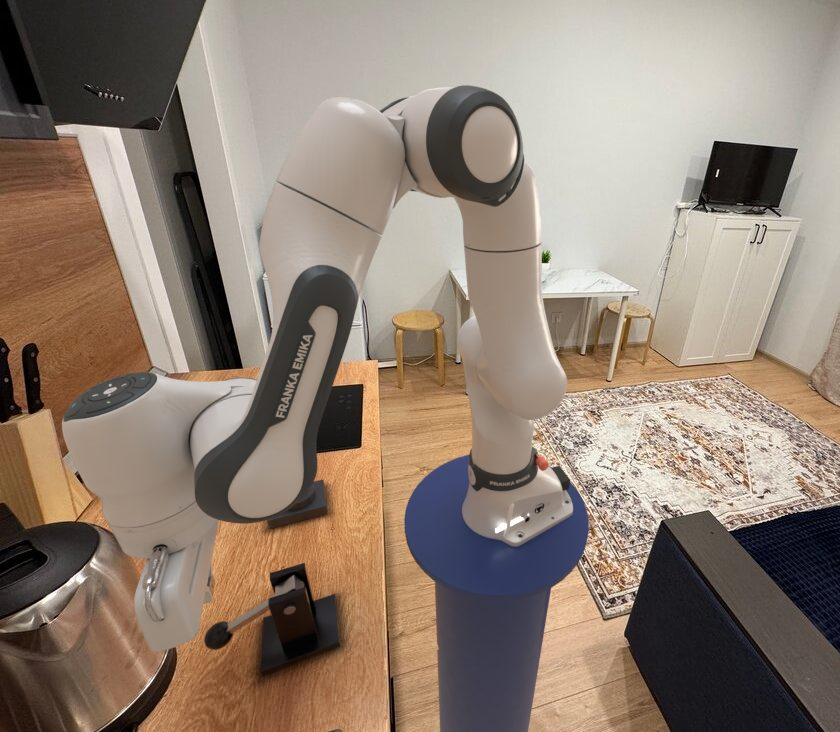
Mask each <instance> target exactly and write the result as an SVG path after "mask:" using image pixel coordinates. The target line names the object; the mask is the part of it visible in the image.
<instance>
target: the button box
mask: <svg viewBox="0 0 840 732" xmlns="http://www.w3.org/2000/svg"><path fill="white" fill-rule="evenodd" d="M327 502H328V501H327V494H326V484H325V479H324V478H323V479H319V480H314V482H313V484H312V485H311V487H310V488H309V490H308V491H307V492H306V494H305V495H304V496H303V497H302V498H301V499H300V500H299V501H298V502H297V503H296V504H295V505H293V506H292V507H291V508H290V509H288V510H287V511H285V512H283V513H282V514H280V515H278V516H276V517H273V518H271V519H268V520H267V522H268V526H269V529H270V530H271V529H276V528H279V527H282V526H287V525H290V524H293V523H298V522H301V521H305V520H309V519H313V518H317V517H320V516H324V515H328V513H329V512H328V504H327Z"/></svg>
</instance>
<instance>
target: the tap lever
mask: <svg viewBox="0 0 840 732" xmlns="http://www.w3.org/2000/svg"><path fill="white" fill-rule="evenodd" d="M303 587H304V582H303V581H301V580H300V579H299V578H297V577H296V576H295V575H293V576H291V577H290V578H288V579H287V580H285V581H283V582H282V583H280V584H279V585H277V586H275V595H274V594H273V595H271V596H269V597H268V598H267V599H265V600H264V601H262V602H260V603H259V604H257V605H256V606H254V607H252V608H250V609H249V610H248V611H245V612H244V613H242V614H241V615H239V616H238V617H236V618H234V619H233V620H231V621H230V622H228V621H225V620H224V621H222V620H221V621H218V622H216V623H214V624H212V625H211V626H210V627H209V628H208V630H206V632H205V635H204V639H203V641H204V645H205V647H206V648H207V649H209V650H212V651H218V650H220V649H224V647H226V646H227V645H228V644H230V642H231V641H232V639H233V636H234V633H236V632H237V631H239V630H240V629H242V628H243V627H245V626H247V625H248V624H250V623H252V622H253V621H255V620H256V619H258V618H260V617H261V616H263V615H264V614H266V613H267V612H270V609H269V606H268V601H269V598H272V597H275V596H278V595H281V594H284V593H287V592H291V591H294V590H297V589H300V588H303Z"/></svg>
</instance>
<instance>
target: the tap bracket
mask: <svg viewBox="0 0 840 732" xmlns="http://www.w3.org/2000/svg"><path fill="white" fill-rule="evenodd" d="M293 575H295V576H296V577H297V578H299V579H300V580H301V581H303V582H304V587H303V588H300V589H297V590H294V591H291V592H287V593H284V594H281V595H278V596H275V597H272V598H270V597H268V598H269V601H268V606H269V609H270V610H269V612H270V614H271V615H268V616H265V617H263V618H262V619H263V620H262V637H261V638H262V639H261V654H260V668H259V669H260V670H259V673H260V675H261V677H265V676H268V675H270V674H273V673H275V672H278V671H280V670H282V669H286V668H288V667H290V666H293V665H295V664H298V663H300V662H301V663H302V662H304V661H306V660H309V659H311V658H314V657H316V656H319V655H322V654H324V653H327V652H329V651H332V650H334V649H337V648H340V647H341V639H340V638H341V637H340V627H339V618H338V617H339V616H338V608H337V607H338V606H337V597H336V594H335V593H332V594H330V595H327V596H324V597H321V598H318V599H314V594H313V590H312V586H311V582H310V578H309V574H308V570H307V566H306V563H305V562H301V563H299V564H295V565H292V566H289V567H285V568H283V569H279V570H276V571H273V572H270V573H269V581H270V584H271V585H270V586H271V588H272V591H273V595H275V586H277V585H279V584H280V583H282V582H283V581H285V580H287V579H288V578H290V577H291V576H293Z"/></svg>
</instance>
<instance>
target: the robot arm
mask: <svg viewBox="0 0 840 732" xmlns="http://www.w3.org/2000/svg"><path fill="white" fill-rule="evenodd" d="M408 192H418V193H420V194H423V195H426V196H429V197H433V198H439V199H443V198H444V199H446V198H453V200H454V201H455V203H456V204H457V206H458V209H459V211H460V215H461V219H462V237H463V239H462V240H463V250H464V263H465V277H466V289H467V297H468V301H469V304H470V306H471V308H472V311H473V313H474V315H472V316H471V317H470V318H468V319H467V320H466V321H464V323H463V324H462V325H461V327H460V329H459V331H458V334H457V339H456V341H457V348H458V351H459V354H460V357H461V360H462V361H461V362H462V366H463V373H464V381H465V387H466V393H467V398H468V403H469V409H470V410H469V411H470V417H471V418H470V419H471V449H470V451H469V454H468V455H469V465H468V476H469V487H468V492H467V495H466V498H465V500H464V503H463V506H462V515H463V519H464V521H465V522H466V524H467V525H468V526H469V528H470V529H472V530H473V531H474V532H476V533H477V534H479V535H481V536H484V537H487V538H492V539H497V540H501V541H503V542H505V543H506V544H508V545H510V546H513V547H518V546H520V545H522V544H524V543H525V542H527V541H529V540H531V539H532V538H534V537H536V536H537V535H539V534H541V533H543V532H544V531H546V530H548V529H550V528H551V527H553V526H555V525H556V524H558V523H560V522H562V521H563V520H565V519H567V518H569V517H570V516H571V515H572V514H573V504H572V501H571V498H570V496H569V494H568V493H567V491H566V490H568V489H569V486H570V482H571V479H570V477H569V476H568V475H567V473H566V472H565V471H564V470H563V468H562V467H561V465H557V466H550V463H549V462H548V460H546V458H545V456H539V452H538V450H537V449H536V447H534V446H533V441H534V439H533V438H534V431H535V430H534V429H535V420H539V419H542V418H545V417H547V416H549V415H550V414H551V413H553V412H554V411H555V410H556V409H557V408H558V407H559V406H560V404H561V403H562V402H563V400H564V398H565V395H566V393H567V390H568V388H567V387H568V377H567V374H566V372H565V370H564V368H563V366H562V364H561V363H560V359H558V356H557V353H556V350H555V347H554V343H553V339H552V335H551V331H550V328H549V323H548V319H547V313H546V309H545V304H544V298H543V297H544V296H543V283H542V282H543V279H542V278H543V277H542V275H543V274H542V273H543V272H542V269H543V268H542V262H543V261H542V258H543V257H542V256H543V255H542V254H543V253H542V252H543V251H542V249H543V247H542V244H543V243H542V242H543V241H542V240H543V239H542V235H543V233H542V214H541V205H540V197H539V189H538V184H537V180H536V175H535V172H534V170H533V168H532V167H531V165H530V164H529V163H528V162H526V161H525V153H524V142H523V136H522V132H521V128H520V125H519V122H518V119H517V116H516V115H515V112H514V110H513V109H512V107H511V105H510V104H509V103H508V101H506V100H505V99H504V98H503V97H502V96H501V95H500V94H498V93H496V92H494V91H492V90H489V89H487V88H485V87H480V86H475V85H470V84H469V85H468V84H465V85H463V84H462V85H458V86H454V87H449V86H447V87H435V88H429V89H425V90H422V91H420V92H418V93H416V94H414V95H412V96H407V97H402V98H398V99H396V100H394V101H392V102H391V103H388V104H387V105H386V106H385V107H383V108H382V109H380V110H378V109H377V108H376V107H374V106H372V105H370V104H368V103H367V102H365V101H362V100H360V99H356V98H353V97H349V96H348V97H347V96H332V97H329V98H327V99H324V100H323V101H322V102H320V103H319V104H318V106H317V107H316V108H315V110H314V111H313V112H312V114H310V117H309V118H308V119H307V121H306V123H305V124H304V126H303V127H302V129H301V130H300V132H299V133H298V135H297V137H296V139H295V140H294V141H293V144H292V146H291V147H290V149H289V151H288V153H287V155H286V156H285V158H284V161H283V163H282V166H281V168H280V170H279V172H278V175H277V177H276V180H275V182H274V183H273V186H272V189H271V192H270V195H269V197H268V200H267V202H266V203H267V204H266V206H265V210H264V214H263V215H264V216H263V220H262V224H261V231H260V237H259V243H258V244H259V245H258V248H259V254H260V258H261V261H262V264H263V269H264V271H265V274H266V278H267V282H268V286H269V291H270V295H271V301H272V317H273V318H272V330H271V335H270V339H269V342H268V346H267V349H266V352H265V355H264V358H263V361H262V363H261V366H260V369H259V372H258V375H257V378H251V377H232V378H227V379H223V380H214V381H212V380H211V381H204V380H203V381H201V380H199V381H197V380H184V379H177V378H171V377H168V376H165V375H162V374H159V373H156V372H151V371H138V372H129V373H125V374H121V375H117V376H114V377H112V378H108V379H106V380H104V381H101V382H99V383H97V384H95V385H93V386H91V387H90V388H89V389H87V390H85V391H84V392H83V393H81V394H79V395H77V397H75V399H73V401H72V402H71V403H70V404H69V406H68V407H67V409H66V410H65V412H64V413H63V417H62V419H61V420H62V421H61V430H62V432H61V433H62V435H63V439H64V442H65V445H66V448H67V451H68V453H69V456H70V458H71V460H72V462H73V465H74V466H75V469H76V471H77V472H78V474H79V476H80V478H81V480H82V482H83V484H84V485H85V486H86V488H87V490H88V491H89V492H91V493H92V494H94V495H96V496H97V498H99V500H100V502H101V511H102V512H101V513H102V515H103V519H104V520H105V522H106V524H107V525H108V527H109V529H110V531H111V532H112V534H113V535H114V537H115V539H116V541H117V542H118V543H117V544H118V545H119V546H120V548H121V550H122V551H123V553H124V554H126V555H127V556H128V557H130V558H134V559H140V560H145V562H144V567H143V569H142V571H141V574H140V578H139V581H138V583H137V586H136V590H135V594H134V598H133V606H134V607H133V608H134V613H135V618H136V620H137V623H138V625H139V628H140V630H141V632H142V634H143V637H144V639H145V642H146V643H147V645H148V647H149V649H150V650H151V651H153V652H154V653H159V652H165V651H168V650H171V649H174V648H177V647H179V646H182V645H184V644H187V643H189V642H191V641H192V640H194V639H196V637H197V636H198V634H199V631H200V625H201V620H202V614H203V609H204V605H205V604H209V603H211V602H212V601H213V596H214V589H215V584H216V578H215V575H214V573H213V563H212V561H213V555H214V550H215V544H216V539H217V534H218V528H219V523H220V521H221V522H225V523H231V524H238V525H239V524H240V525H241V524H243V525H244V524H246V525H249V524H256V523H260V522H261V523H262V522H265V521H268V519H271V518H273V517H276V516H278V515H280V514H282V513H283V512H285V511H287V510H288V509H290V508H291V507H292V506H293V505H295V504H296V503H297V502H298V501H299V500H300V499H301V498H302V497H303V496H304V495H305V494H306V492H307V491H308V490H309V488H310V487H311V485H312V484H313V482H314V481H316V476H317V473H318V451H317V450H318V449H317V441H318V432H319V429H320V424H321V421H322V418H323V416H324V412H325V409H326V408H327V407H326V406H327V403H328V400H329V397H330V395H331V392H332V389H333V386H334V383H335V379H336V378H337V377H336V376H337V375H338V372H339V368H340V365H341V362H342V359H343V357H344V354H345V350H346V347H347V344H348V341H349V338H350V334H351V331H352V327H353V323H354V320H355V315H356V311H357V308H358V303H359V301H360V296H361V292H362V290H363V289H362V288H363V286H364V283H365V279H366V277H367V274H368V272H369V270H370V268H371V267H370V266H371V264H372V261H373V259H374V257H375V254H376V251H377V250H378V246H379V244H380V243H381V240H382V236H383V235H384V233H385V230H386V228H387V226H388V223H389V220H390V217H391V214H392V211H393V209H395V207H396V206H397V204H398V203H399V201H400V200H401V199H402V198H403V197H404V196H405V195H406V194H407V193H408ZM549 466H550V467H552V468H550V467H549ZM567 503H568V504H567ZM520 537H521V538H520Z"/></svg>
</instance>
